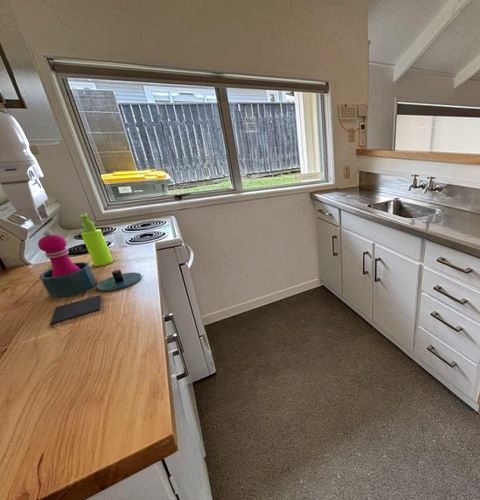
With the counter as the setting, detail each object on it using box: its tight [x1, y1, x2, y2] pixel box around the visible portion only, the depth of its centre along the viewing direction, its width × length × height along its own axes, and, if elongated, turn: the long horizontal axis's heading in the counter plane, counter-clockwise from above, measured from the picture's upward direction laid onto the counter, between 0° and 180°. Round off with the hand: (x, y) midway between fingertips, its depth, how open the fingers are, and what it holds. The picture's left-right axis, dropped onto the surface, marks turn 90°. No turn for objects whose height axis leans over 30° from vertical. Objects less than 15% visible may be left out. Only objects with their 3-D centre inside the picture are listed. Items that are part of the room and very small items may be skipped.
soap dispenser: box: [79, 213, 114, 267], centre depth 108 cm, size 6×7×20 cm
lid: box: [96, 269, 143, 292], centre depth 94 cm, size 12×12×5 cm
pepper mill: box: [37, 230, 81, 277], centre depth 88 cm, size 7×7×20 cm
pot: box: [39, 261, 98, 300], centre depth 90 cm, size 11×11×8 cm
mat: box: [49, 294, 102, 326], centre depth 80 cm, size 10×10×1 cm
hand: (42, 221), depth 83 cm, fingers open, 8 cm apart
